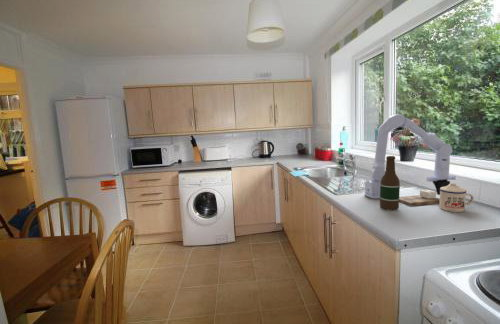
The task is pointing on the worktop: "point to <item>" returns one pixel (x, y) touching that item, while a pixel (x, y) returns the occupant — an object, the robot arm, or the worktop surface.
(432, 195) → the fader tab
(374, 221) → the worktop surface
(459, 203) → the teacup with lid
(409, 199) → the console board
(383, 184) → the beer bottle
